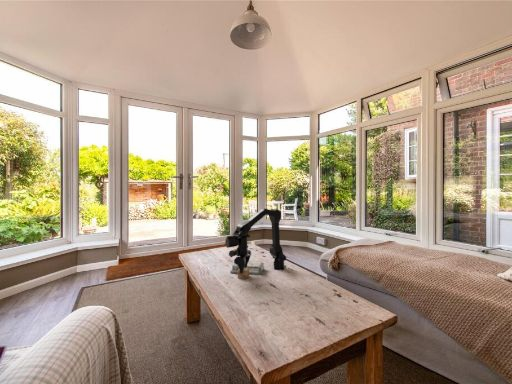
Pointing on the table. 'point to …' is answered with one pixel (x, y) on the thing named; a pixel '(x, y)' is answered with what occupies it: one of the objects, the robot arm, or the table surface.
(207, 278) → the table surface
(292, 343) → the table surface
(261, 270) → the base
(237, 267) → the block
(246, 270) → the block
